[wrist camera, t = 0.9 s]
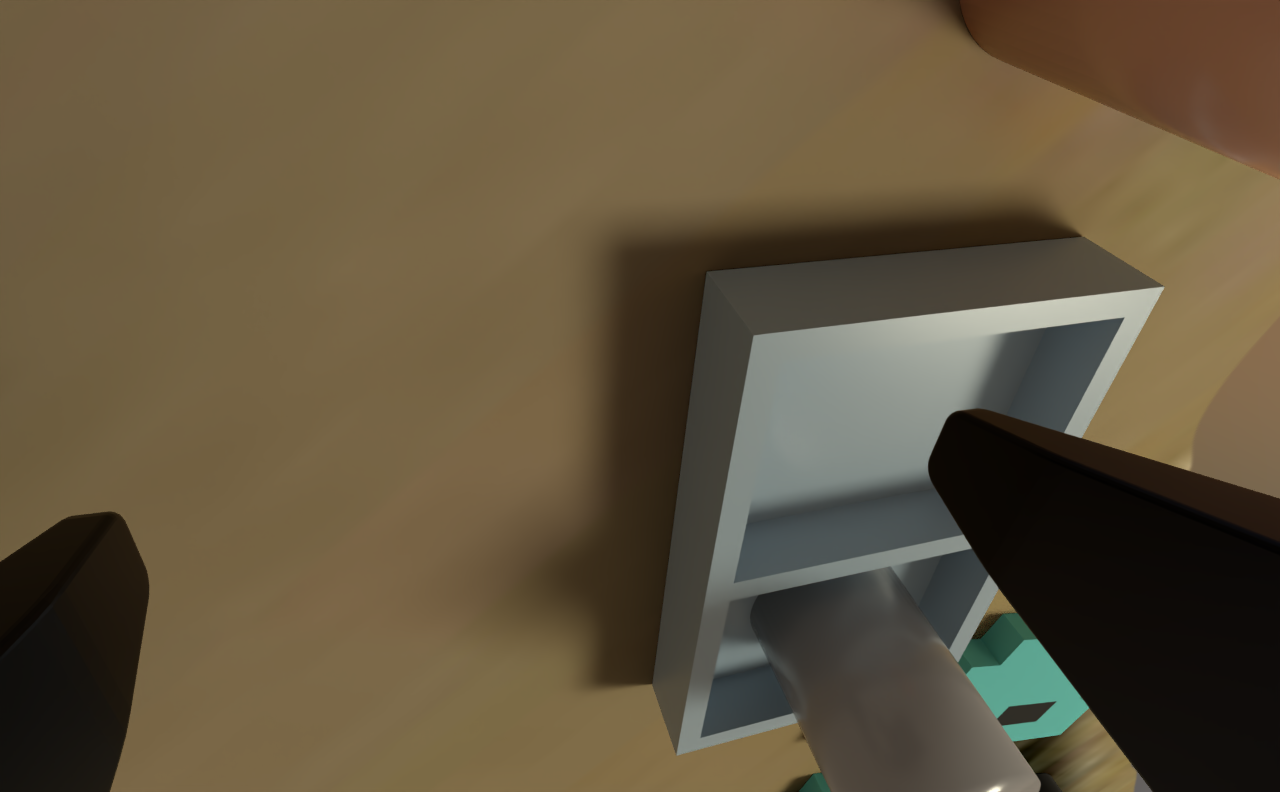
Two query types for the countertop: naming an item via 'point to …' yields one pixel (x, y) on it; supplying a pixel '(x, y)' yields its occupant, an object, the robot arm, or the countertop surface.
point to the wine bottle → (1047, 783)
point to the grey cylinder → (882, 691)
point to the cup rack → (861, 440)
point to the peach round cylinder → (1154, 62)
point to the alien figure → (1013, 685)
